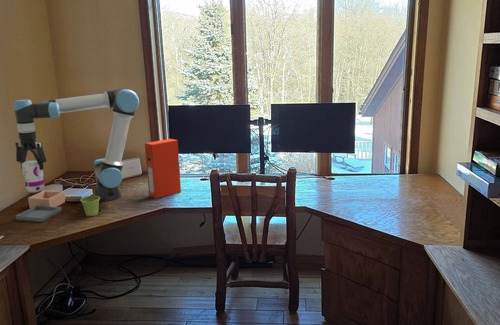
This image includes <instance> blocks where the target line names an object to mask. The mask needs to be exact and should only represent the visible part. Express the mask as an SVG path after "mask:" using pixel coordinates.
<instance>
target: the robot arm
mask: <svg viewBox="0 0 500 325" xmlns="http://www.w3.org/2000/svg"><path fill="white" fill-rule="evenodd" d="M13 106H14V113H15V114H14V115H15V118H16V119H15V120H16V125H17V127H16V128H17V131H18V132H17V133H18V139H19V141H18V142H15V147H16V149H15V152H16V153H15V154H16V155H15V156H16V158H15V159H16V160H15V161H16V162H17V163H19V164H20V169H21V170H22V175H23V177H24V172H23V164H24V162H26V160H27V155H28V152H29V151H30V152H31V153H32V155H33V157H34V158H35V159H34V160H37V162H38V164H37V170H38V176H39V177H41V176H43V177H44V168H45V167H44V163H47V159H46V154H45V152H44V149H43V142H37V133H36V126H35V120H36V119H37V120H38V119H53V118H59V117H60V114H64V113H72V112H79V111H88V110H95V109H102V108H107V109H112V110H111V112H112V113H113V121H112V124H111V129H110V135H109V138H108V142H107V143H108V144H107V148H106V153H105V157H104V158H99V159H95V160H94V162H93V166H94V173H95V174H94V175H95V182H96V187H95V190H94V191H95V192H94V196H99V197H100V199H99V202H103V201H104V202H106V201H114V200H117V199H119V198H121V197H122V196H123V194H122V193H123V192H122V190H121V188H120V184H121V183H122V181H123V168H124V163H123V162H122V159H123V155H124V150H125V146H126V142H127V137H128V133H129V128H130V123H131V120H132V118H134V117H135V114H136V111H137V109H138V108H139V106H140V99H139V96H138V95H137V92H135V91H133V90H131V89H127V88H125V87H123V88H122V87H121V88H117V89H113V90H107V91H104V92H103V93H97V94H89V95H82V96H73V97H65V98H58V99H57V98H55V99H44V100H41V101H39V102H38V103H33V102H32V100H31V99H18V100H14V102H13Z"/></svg>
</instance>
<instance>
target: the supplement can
mask: <svg viewBox="0 0 500 325" xmlns="http://www.w3.org/2000/svg"><path fill="white" fill-rule="evenodd" d="M25 161H26V160H25ZM37 164H38V162H37V160H36V159H34V160H32V159H31V160H27V161H26V162H24V164H23V170H22V173H23V172H24V176H23V177H24V183H25V189H26V191H27V192H29V193H40V192H42V191H44V189H45V181H44V175H43V176H41V177H39V176H38V170H37Z"/></svg>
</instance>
